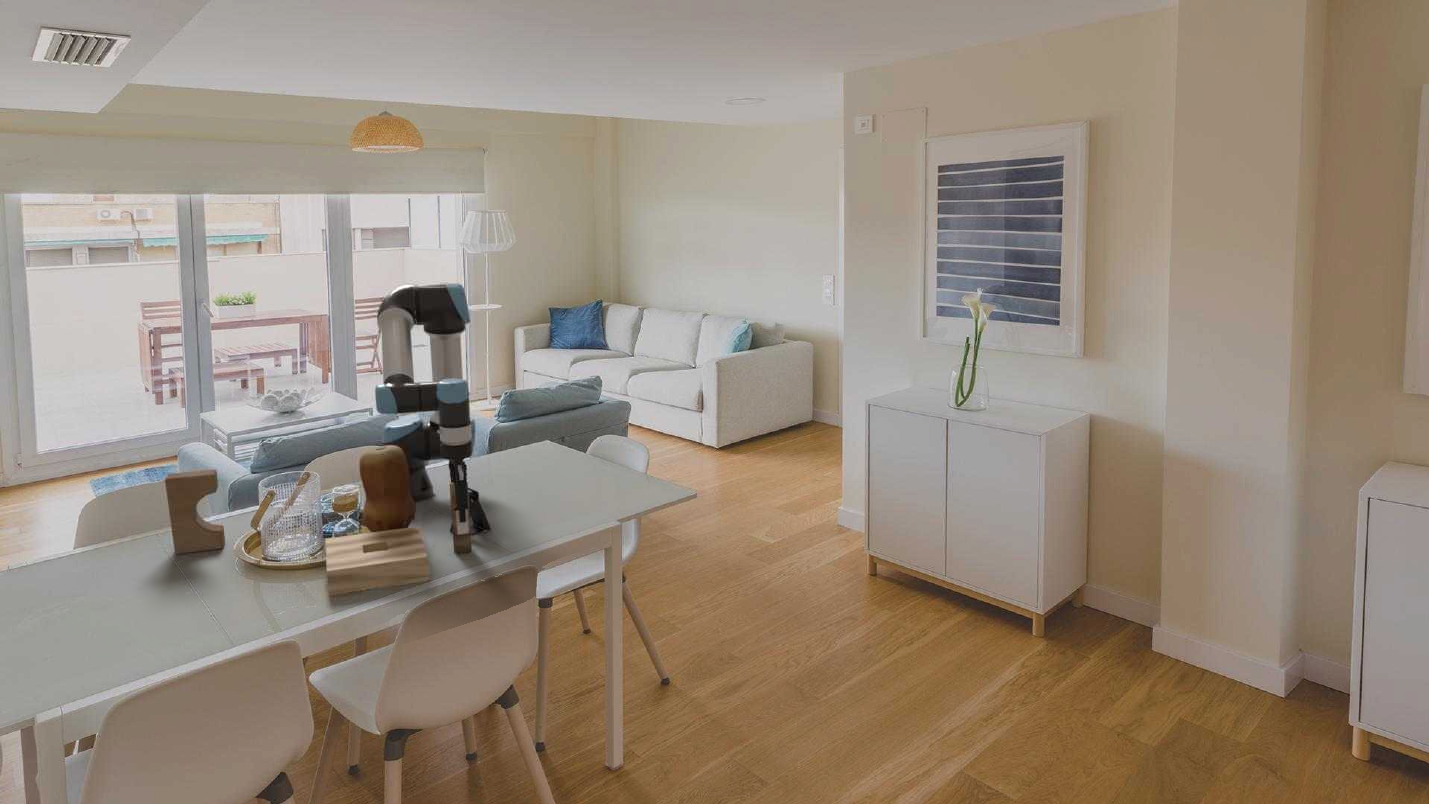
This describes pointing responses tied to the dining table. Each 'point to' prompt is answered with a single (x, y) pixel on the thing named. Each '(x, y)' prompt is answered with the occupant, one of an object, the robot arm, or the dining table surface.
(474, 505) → the black a-frame stand
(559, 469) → the dining table surface
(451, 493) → the leg
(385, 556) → the seat block
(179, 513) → the decorative block
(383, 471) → the butternut squash
